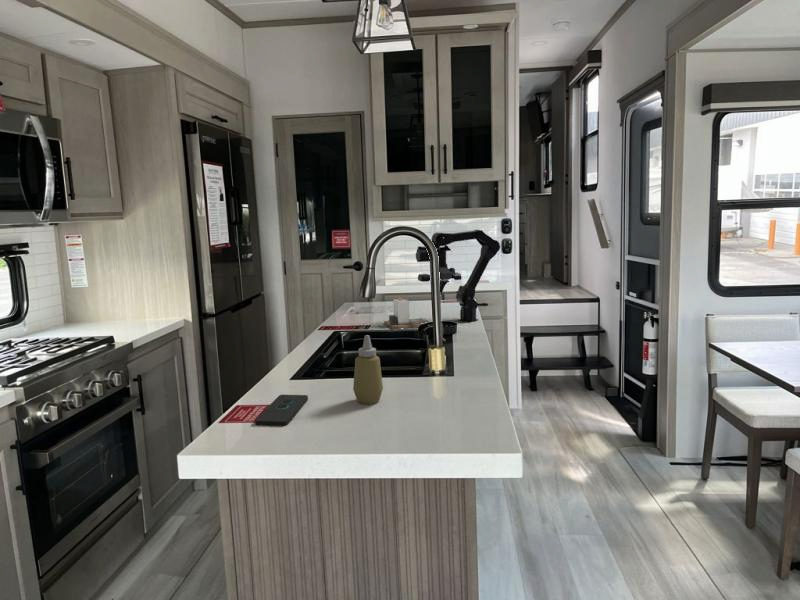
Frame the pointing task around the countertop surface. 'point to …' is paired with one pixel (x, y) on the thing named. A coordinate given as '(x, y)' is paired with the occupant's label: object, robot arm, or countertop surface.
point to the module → (401, 310)
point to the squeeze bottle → (367, 374)
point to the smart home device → (281, 410)
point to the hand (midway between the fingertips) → (439, 296)
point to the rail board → (412, 324)
